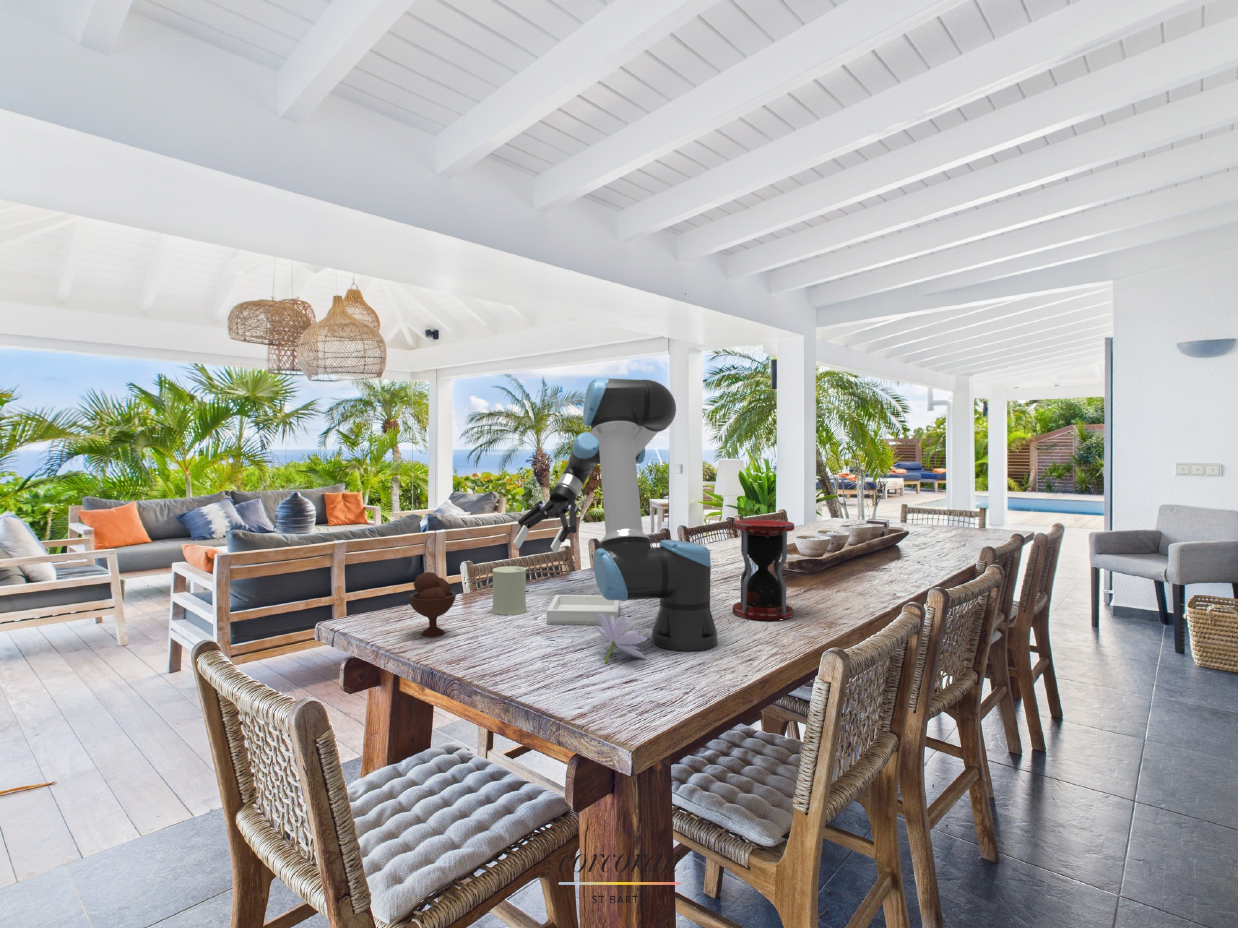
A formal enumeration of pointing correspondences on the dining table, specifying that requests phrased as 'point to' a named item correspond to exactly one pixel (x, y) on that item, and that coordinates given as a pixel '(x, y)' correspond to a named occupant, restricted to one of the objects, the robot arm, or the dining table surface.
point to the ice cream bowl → (431, 600)
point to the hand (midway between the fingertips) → (534, 547)
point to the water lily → (620, 636)
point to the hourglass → (763, 569)
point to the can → (509, 590)
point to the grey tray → (581, 609)
